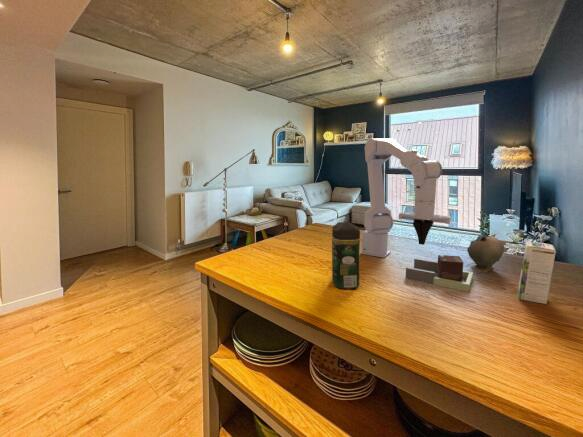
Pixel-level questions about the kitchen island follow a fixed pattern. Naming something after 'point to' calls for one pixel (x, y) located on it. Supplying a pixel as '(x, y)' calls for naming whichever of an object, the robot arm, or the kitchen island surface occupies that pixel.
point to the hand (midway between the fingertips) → (421, 243)
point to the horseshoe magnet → (426, 274)
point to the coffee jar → (345, 255)
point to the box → (450, 267)
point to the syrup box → (536, 272)
